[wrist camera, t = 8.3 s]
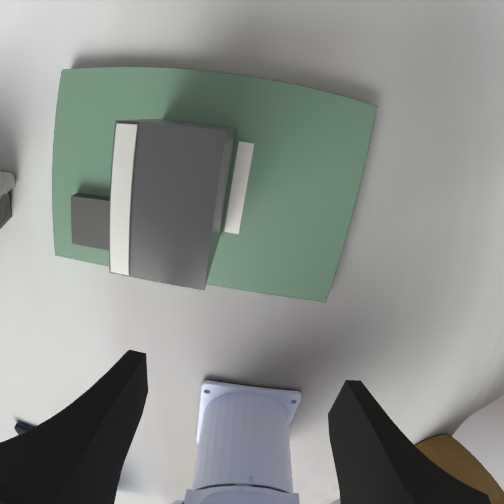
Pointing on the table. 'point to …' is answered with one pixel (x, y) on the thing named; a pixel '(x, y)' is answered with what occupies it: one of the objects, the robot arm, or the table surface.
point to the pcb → (241, 173)
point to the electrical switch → (5, 196)
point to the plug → (167, 199)
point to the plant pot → (461, 465)
